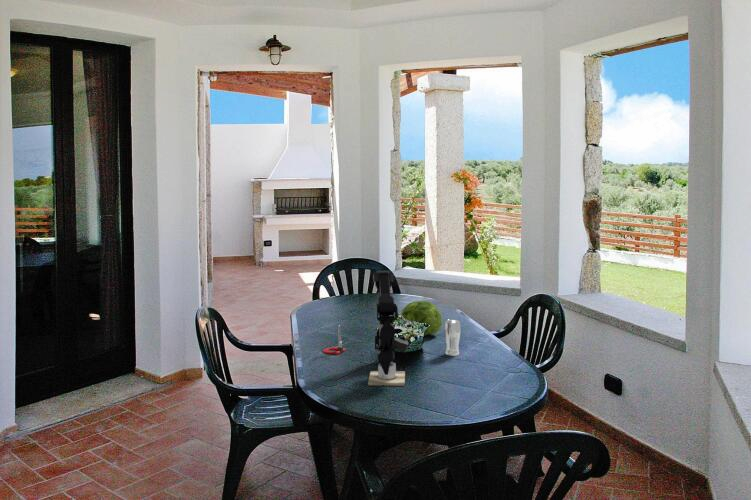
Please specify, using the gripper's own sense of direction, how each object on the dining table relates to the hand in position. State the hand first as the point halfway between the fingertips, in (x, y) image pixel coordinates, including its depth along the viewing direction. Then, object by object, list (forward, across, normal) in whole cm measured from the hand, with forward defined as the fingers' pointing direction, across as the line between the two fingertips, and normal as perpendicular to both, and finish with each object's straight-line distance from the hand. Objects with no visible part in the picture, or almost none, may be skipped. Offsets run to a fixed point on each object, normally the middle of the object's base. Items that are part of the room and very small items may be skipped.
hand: (387, 370), depth 240 cm
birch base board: (+4, 0, 0) cm, 4 cm away
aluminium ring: (+2, 0, 0) cm, 2 cm away
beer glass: (+4, +34, -28) cm, 44 cm away
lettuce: (+4, +67, -13) cm, 68 cm away
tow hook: (+4, +37, +26) cm, 45 cm away
